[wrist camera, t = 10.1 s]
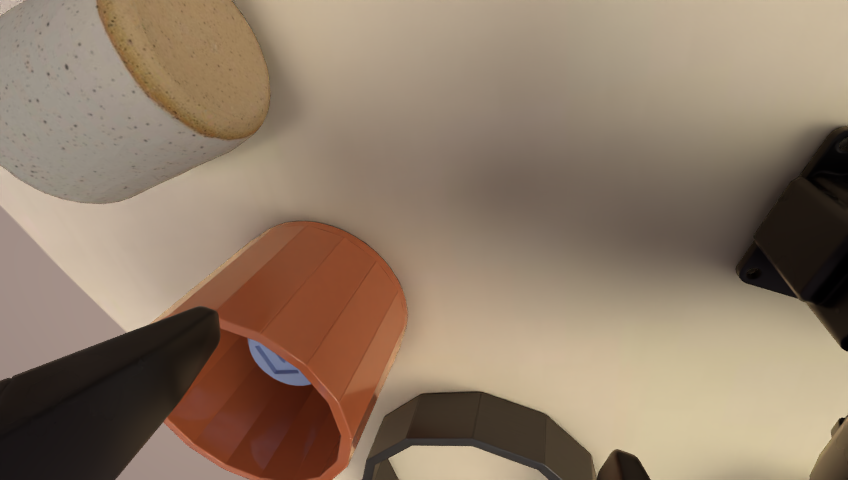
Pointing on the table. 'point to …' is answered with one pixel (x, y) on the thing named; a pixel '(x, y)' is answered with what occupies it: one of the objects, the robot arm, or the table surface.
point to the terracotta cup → (292, 353)
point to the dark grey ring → (479, 435)
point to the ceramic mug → (124, 92)
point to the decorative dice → (276, 365)
